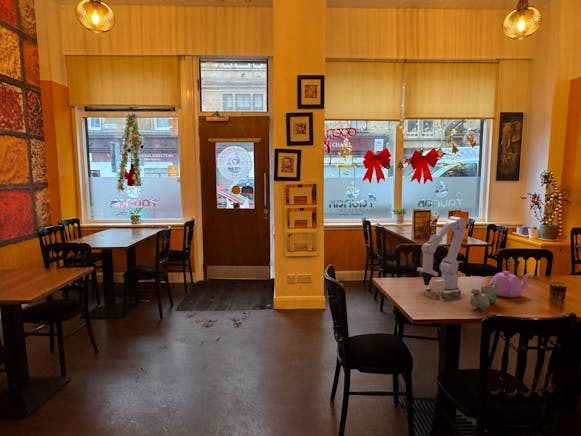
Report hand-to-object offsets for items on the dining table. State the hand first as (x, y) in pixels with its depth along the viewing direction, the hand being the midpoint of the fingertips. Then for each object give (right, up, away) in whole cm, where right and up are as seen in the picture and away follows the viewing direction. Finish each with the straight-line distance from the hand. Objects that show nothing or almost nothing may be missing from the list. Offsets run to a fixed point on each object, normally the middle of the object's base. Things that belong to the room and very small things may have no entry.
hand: (426, 285), depth 231 cm
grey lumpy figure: (+15, -7, -34) cm, 38 cm away
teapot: (+46, -5, -7) cm, 47 cm away
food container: (+26, -6, -24) cm, 36 cm away
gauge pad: (+2, -3, -8) cm, 9 cm away
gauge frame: (+6, -4, -10) cm, 12 cm away
